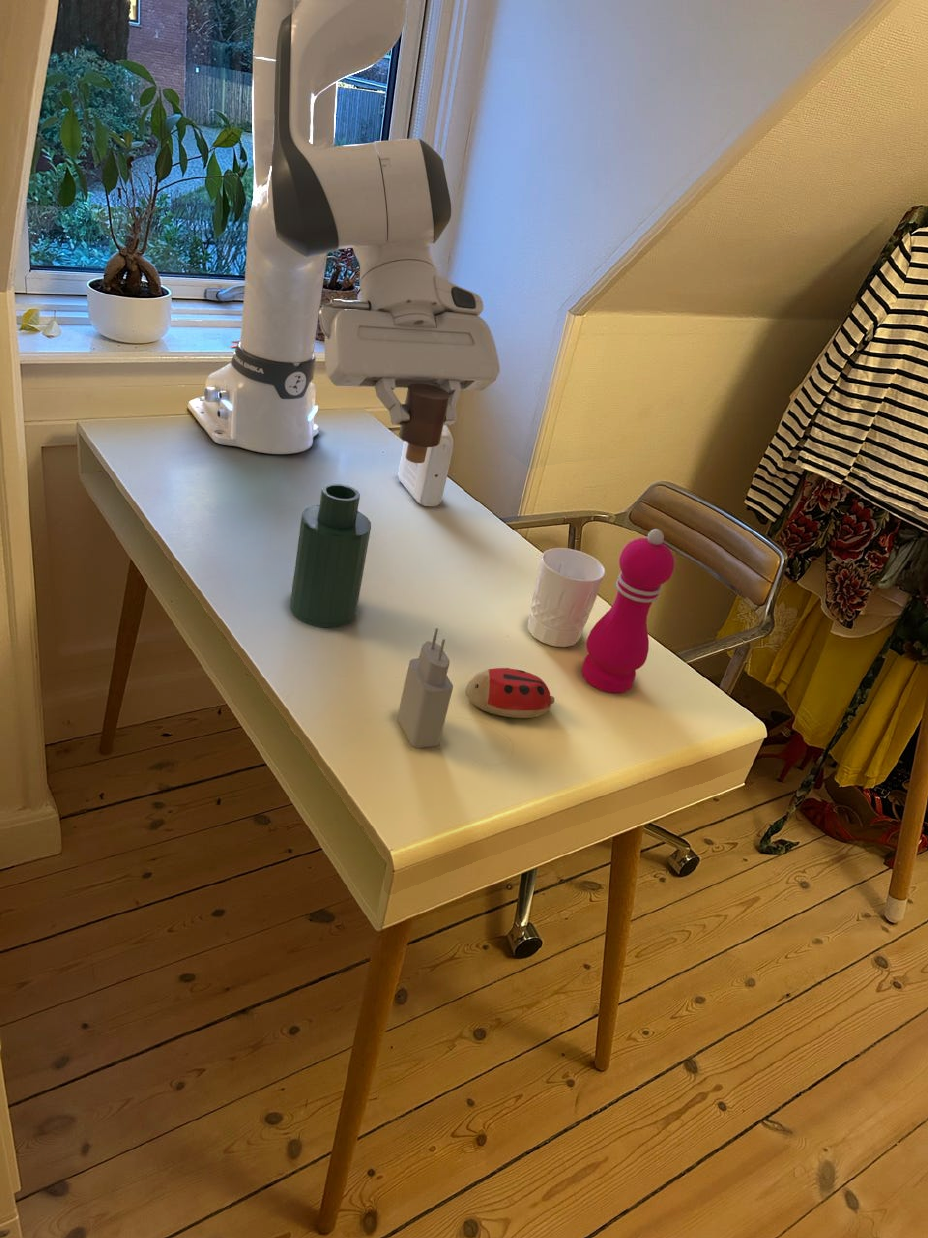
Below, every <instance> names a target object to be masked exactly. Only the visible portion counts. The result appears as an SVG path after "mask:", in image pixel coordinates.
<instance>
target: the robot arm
mask: <svg viewBox="0 0 928 1238" xmlns="http://www.w3.org/2000/svg"><path fill="white" fill-rule="evenodd" d="M255 9H256V10H255V19H254V28H253V45H252V46H253V48H252V49H253V50H252V55H253V56H252V117H251V119H252V121H251V122H252V123H251V124H252V143H253V144H252V145H253V146H252V147H253V198H252V205H251V207H250V210H249V214H248V225H247V238H246V239H247V240H246V253H245V254H246V257H245V270H244V272H245V273H244V293H243V294H244V295H243V306H242V315H241V328H240V339H239V340H233V341H230V343H231V344H236V345H232V346H230V349H235V350H234V352H233V355H232V358H231V360H230V363H228V364H226V365H225V366H222V367H221V368H219V369H217V370H216V371H213V372H212V373H210V374H209V375H208V376H207V378H206V380H205V385H204V389H203V396H199V397H196V398H193V399H191V400H190V401H188V404H187V408H188V410H189V412H191V414H192V415H193V417H194V418H195V419H196V420H197V421H198V423H199V425H200V426H201V427H202V428H203V429H204V430H205V432H206V434H208V436H209V437H210V438H211V440H212V441H213V442H214V443H217V444H219V445H224V446H231V447H232V446H233V447H238V448H242V449H245V450H248V451H252V452H257V453H263V454H269V455H290V454H297V453H302V452H304V451H306V450H309V449H311V447H312V446H313V444H314V437H315V436H317V435H318V434H319V425H318V424H316V423H315V417H316V414H317V412H318V410H319V409H318V408H319V405H316V385H315V384H314V383H313V382H312V381H313V380H314V377H315V371H316V367H317V365H316V358H317V357H316V354H315V345H316V337H317V330H318V329H317V328H318V321H319V326H320V330H321V332H322V334H323V335H324V346H323V347H324V364H325V366H324V367H325V373H326V377H327V378H328V379H329V381H330V382H331V383H332V384H333V385H334V386H337V387H354V388H355V387H358V388H374V389H375V395H376V397H377V398H378V400H379V401H380V402H381V403H382V405H383V406H384V407H385V408H386V410H387V411H388V412H389V417H390V423H391V425H395V426H396V425H397V426H401V425H405V424H406V423H407V422H409V420H410V414H409V413H408V411H409V409H408V405H407V404H405V403H402V402H401V401H400V400H399V398H398V397H397V395H396V393H395V392H394V390H395V389H408V386H409V385H411V384H416V383H421V384H429V385H433V386H436V387H439V388H441V389H443V390H445V391H447V392H448V393H449V395H450V398H449V402H448V407H447V411H446V416H445V421H444V425H446V426H453V425H454V424H456V423H457V422H458V414H457V413H458V412H457V407H456V406H457V404H458V401H459V398H460V395H461V392H462V391H484V390H485V389H487V388H489V386H491V385H492V384H493V383H495V382H496V380H497V378H498V377H499V375H500V373H501V372H500V371H501V369H500V361H499V356H498V351H497V347H496V343H495V340H494V337H493V334H492V331H491V328H490V326H489V324H488V323H487V321H486V320H484V318H483V317H481V316H480V315H481V314H482V312H483V310H484V302H483V299H482V297H481V296H480V295H479V294H477V293H476V292H473V291H471V290H468V289H465V288H464V287H461V286H459V285H457V284H456V283H453V282H451V281H449V280H447V279H446V278H444V277H442V276H440V275H439V272H438V269H437V266H436V265H435V263H434V261H433V257H432V255H431V245H432V244H435V243H436V242H437V240H439V238H440V237H441V235H442V234H443V232H444V231H445V229H446V228H447V226H448V224H449V223H450V222H451V221H450V220H451V218H452V203H451V202H452V201H451V196H450V191H449V186H448V182H447V176H446V171H445V167H444V161H443V158H442V157H441V156H440V155H439V154H438V153H437V151H436V150H434V148H433V147H432V146H431V145H429V144H428V143H427V142H426V141H424V140H423V139H421V138H418V139H416V138H399V139H389V140H378V141H373V142H367V143H366V142H365V143H356V144H346V145H337V146H335V134H336V117H337V115H336V114H337V98H338V97H337V96H338V95H337V94H338V81H341V80H343V79H345V78H348V77H350V76H352V75H354V74H357V73H359V72H363V71H365V70H368V69H369V68H371V67H373V66H374V65H376V64H377V63H379V62H380V61H381V60H382V59H384V58H385V57H386V56H387V55H388V54H389V52H391V51H392V49H393V48H394V46H395V45H396V43H397V42H398V41H399V39H400V37H401V35H402V33H403V30H404V27H405V24H406V20H407V0H257V4H256V8H255ZM343 249H344V250H345V249H352V250H353V254H354V256H355V258H356V260H357V262H358V265H359V272H360V273H359V278H358V279H359V280H358V281H359V283H358V284H359V288H360V295H361V300H344V299H339V298H332V299H330V300H329V301H328V302H326V303H323V304H322V306H321V300H322V299H321V298H322V293H323V292H322V291H323V286H324V278H325V273H326V266H327V265H326V264H327V258H328V253H334V252H337V251H338V250H343ZM320 306H321V307H320Z"/></svg>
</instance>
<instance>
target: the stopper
mask: <svg viewBox="0 0 928 1238" xmlns="http://www.w3.org/2000/svg"><path fill="white" fill-rule="evenodd" d="M449 398H450V395H449V393H448V392H447V391H445V390H443V389H441V388H439V387H436V386H433V385H429V384H421V383H416V384H411V385H409V386H408V388H407V389H406V396H405V399H404V400H405V401H404V404H407V405H408V409H409V411H408V413H409V414H410V420H409V422H407V423H406V424H405V425H399V432H398V437H399V438H400V439H401V440H402V441H403V442H404V441H406V442H408V447H407V452H406V459H407V460H408V461H410V462H413V463H424V462H425V458H426V453H427V448H428V447H434V446H437V445H439V443H440V439H441V434H442V430H443V425H444V421H445V416H446V411H447V407H448V402H449Z"/></svg>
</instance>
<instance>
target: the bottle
mask: <svg viewBox="0 0 928 1238" xmlns="http://www.w3.org/2000/svg"><path fill="white" fill-rule="evenodd" d="M360 497H361V494H360V492H359V490H358V489H356V488H354V487H352V486H349V485H346V484H343V483H342V484H341V483H328V484H325V485H324V486H323V487H322V488H321V491H320V499H319V504H315V505H311V506H309V507H307V508H305V509H304V511H303V512H302V513H301V518H300V525H299V533H298V541H297V549H296V556H295V563H294V564H295V565H294V571H293V577H292V586H291V593H290V594H291V595H290V602H289V608H290V609H289V610H290V612H291V614H292V615H293V616H294V617H296V618H297V620H300V621H301V622H303V623H305V624H307V625H310V626H314V627H319V628H325V629H326V628H327V629H328V628H329V629H331V628H340V627H343V626H346V625H348V624H350V623H351V622H352V621H354V619H355V617H356V614H357V611H358V605H359V600H360V593H361V588H362V582H363V576H364V572H365V571H364V570H365V565H366V558H367V554H368V548H369V542H370V537H371V532H372V531H371V530H372V522H371V521H370V519H369V518H368V516H366V515H365V514H363V513H362V512H360V511H358V510H359V506H360V505H359V504H360Z"/></svg>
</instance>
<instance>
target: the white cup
mask: <svg viewBox="0 0 928 1238" xmlns="http://www.w3.org/2000/svg"><path fill="white" fill-rule="evenodd" d="M537 571H538V572H537V576H536V580H535V585H534V589H533V594H532V598H531V603H530V610H529V611H530V612H529V615H528V619H527V631H528V632H529V633H530V635H531V636H532V637H533V638H534V639H536V640H537V641H539V642H541V643H542V644H546V645H548V646H552V647H556V648H567V647H572V646H575V645H576V644H577V643H578V642H579V641H580V639H581V637H582V634H583V631H584V629H585V626H586V624H587V622H588V620H589V619H590V618H589V617H590V614H591V612H592V610H593V608H594V604H595V602H596V600H597V597H598V595H599V593H600V589H601V586H602V584H603V581H604V580H605V576H606V569H605V566H604V565H603V564H602V563H601V561H599V560H598V559H596V557H594V556H592V555H590V554H588V553H585V552H583V551H580V550H576V549H572V548H568V547H567V548H566V547H554V548H550V549H547V550H545V551H544V552H543V553H542V555H541V558H540V562H539V568H538V570H537Z"/></svg>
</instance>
